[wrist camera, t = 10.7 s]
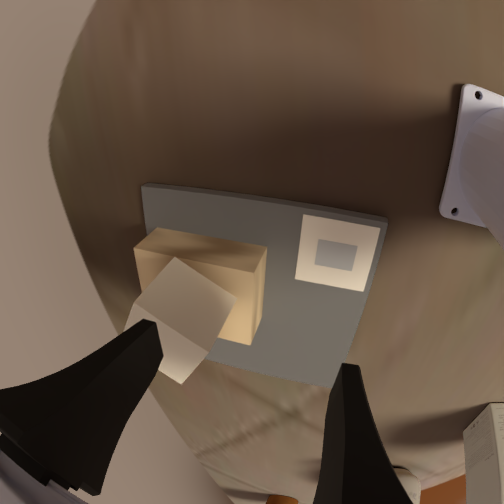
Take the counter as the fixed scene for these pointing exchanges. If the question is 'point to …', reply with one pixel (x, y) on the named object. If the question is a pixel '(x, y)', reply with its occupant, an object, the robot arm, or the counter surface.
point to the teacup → (409, 484)
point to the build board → (285, 273)
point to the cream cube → (183, 316)
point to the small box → (485, 456)
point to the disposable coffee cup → (281, 500)
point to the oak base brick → (212, 272)
